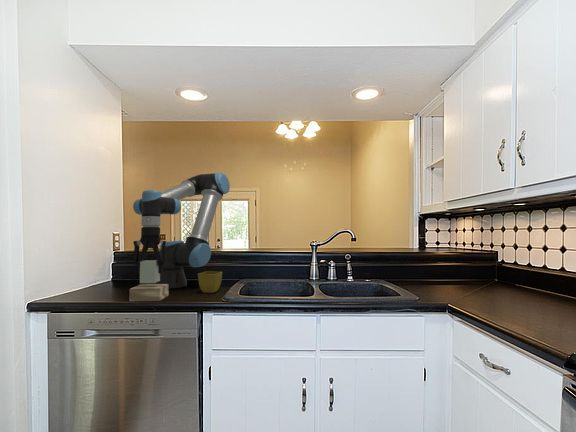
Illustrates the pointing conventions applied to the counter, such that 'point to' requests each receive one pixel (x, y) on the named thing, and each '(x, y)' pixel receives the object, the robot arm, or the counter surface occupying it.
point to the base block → (149, 292)
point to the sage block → (148, 271)
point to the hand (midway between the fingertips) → (149, 281)
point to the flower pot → (209, 281)
